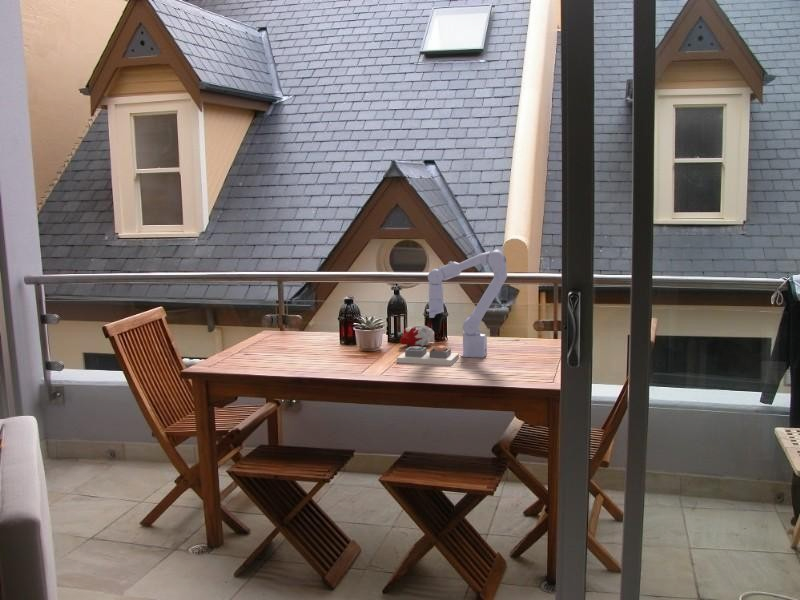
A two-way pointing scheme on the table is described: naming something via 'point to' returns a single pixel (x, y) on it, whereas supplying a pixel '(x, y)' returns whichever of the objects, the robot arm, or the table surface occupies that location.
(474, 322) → the robot arm
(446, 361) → the button panel
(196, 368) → the table surface
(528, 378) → the table surface
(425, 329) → the white red irregular piece
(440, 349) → the terracotta button
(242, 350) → the table surface
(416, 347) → the grey low dome
